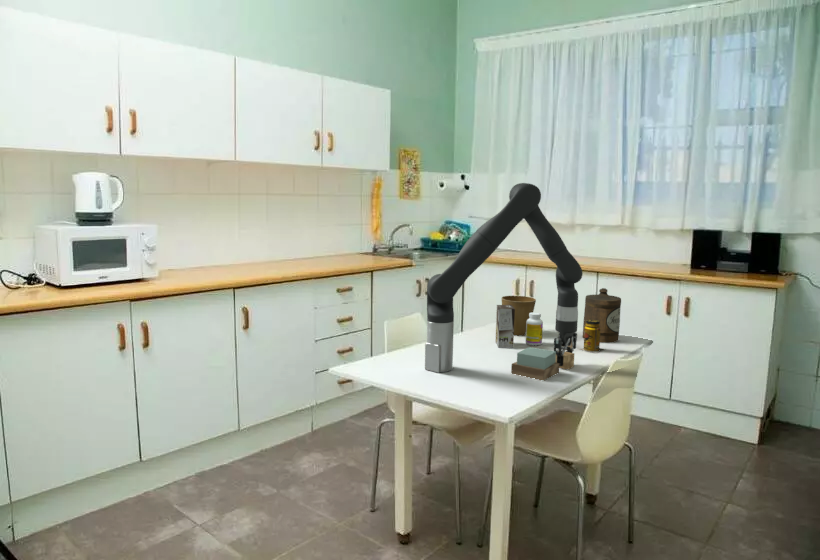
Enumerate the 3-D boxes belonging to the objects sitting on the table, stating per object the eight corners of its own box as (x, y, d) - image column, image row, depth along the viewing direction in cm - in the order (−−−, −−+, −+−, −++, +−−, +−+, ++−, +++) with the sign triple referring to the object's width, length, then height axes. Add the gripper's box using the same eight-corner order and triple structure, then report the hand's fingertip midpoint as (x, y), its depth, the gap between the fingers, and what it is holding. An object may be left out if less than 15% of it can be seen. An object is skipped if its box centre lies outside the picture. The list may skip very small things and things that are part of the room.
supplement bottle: (542, 346, 242) (543, 315, 240) (525, 345, 243) (527, 314, 241) (541, 342, 249) (542, 312, 247) (525, 341, 250) (526, 311, 248)
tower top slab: (544, 369, 198) (545, 357, 198) (516, 364, 204) (517, 353, 203) (555, 362, 207) (556, 351, 206) (528, 357, 212) (528, 346, 212)
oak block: (567, 370, 211) (568, 356, 210) (554, 367, 214) (555, 353, 213) (573, 366, 214) (574, 353, 214) (560, 364, 217) (561, 350, 217)
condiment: (579, 349, 238) (580, 320, 236) (590, 346, 244) (591, 317, 242) (595, 353, 233) (597, 323, 231) (606, 349, 238) (608, 320, 237)
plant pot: (503, 337, 256) (504, 301, 253) (497, 329, 270) (499, 295, 268) (537, 338, 256) (539, 301, 253) (530, 330, 271) (531, 295, 268)
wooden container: (617, 344, 247) (620, 292, 244) (580, 340, 253) (583, 289, 249) (619, 336, 260) (623, 287, 257) (584, 333, 266) (587, 284, 263)
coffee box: (513, 348, 239) (515, 308, 236) (497, 347, 239) (499, 308, 237) (510, 342, 248) (512, 304, 245) (495, 342, 248) (496, 304, 246)
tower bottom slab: (542, 382, 198) (543, 370, 197) (511, 375, 205) (511, 363, 205) (558, 374, 207) (559, 363, 206) (527, 367, 214) (528, 356, 214)
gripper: (567, 323, 204) (565, 370, 206) (585, 316, 214) (582, 361, 217) (547, 319, 208) (545, 365, 211) (565, 313, 219) (563, 357, 222)
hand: (564, 363), depth 214 cm, fingers open, 6 cm apart
